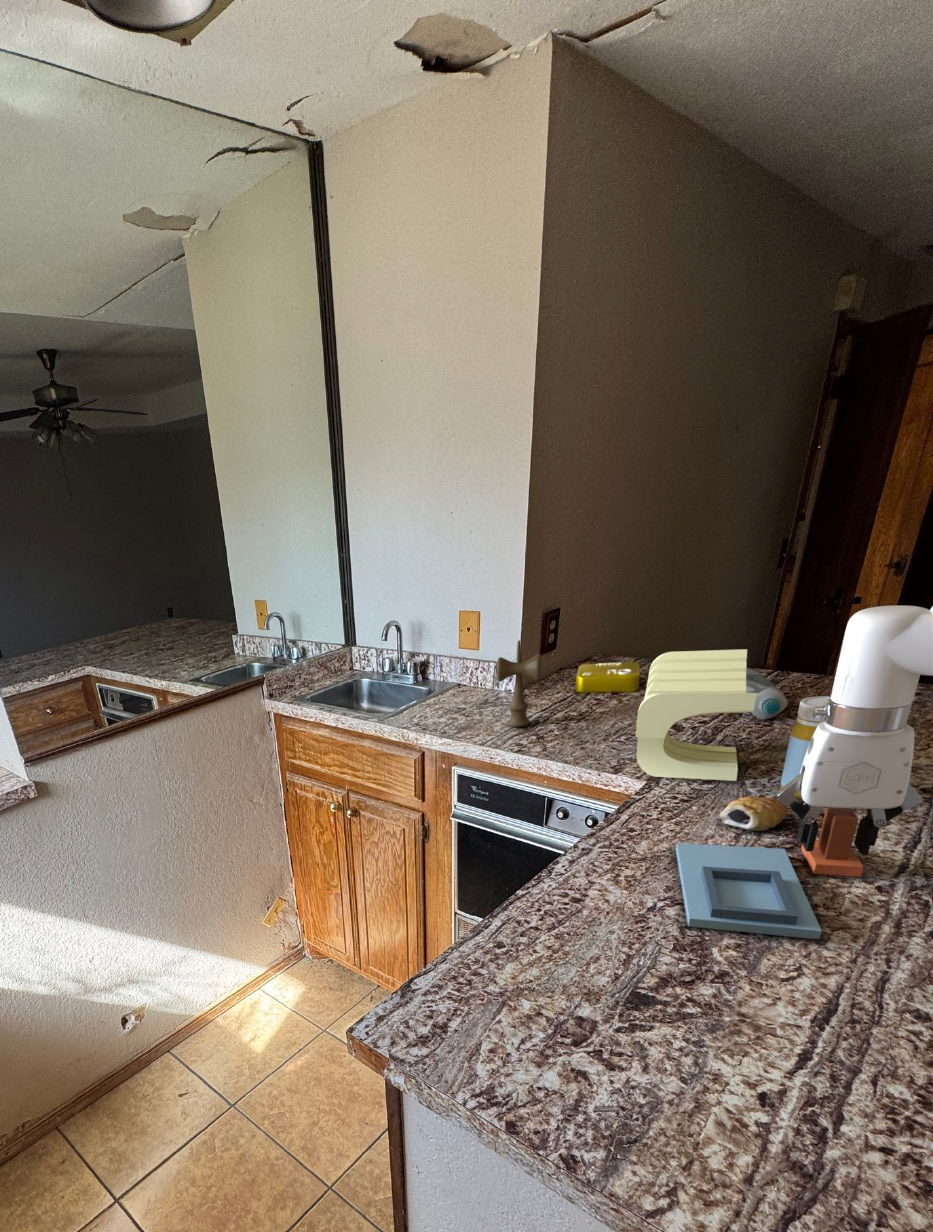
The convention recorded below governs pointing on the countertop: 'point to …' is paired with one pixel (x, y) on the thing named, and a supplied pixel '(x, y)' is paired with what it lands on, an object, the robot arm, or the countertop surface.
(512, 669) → the kendama
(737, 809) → the pastry
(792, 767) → the bottle
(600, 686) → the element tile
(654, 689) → the slatted curved stool
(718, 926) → the back board
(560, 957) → the countertop surface
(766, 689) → the detergent
